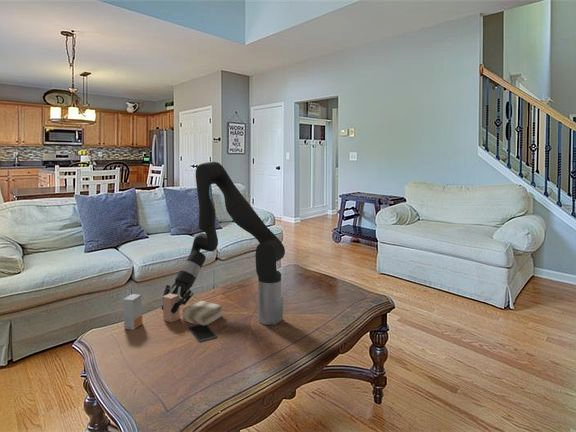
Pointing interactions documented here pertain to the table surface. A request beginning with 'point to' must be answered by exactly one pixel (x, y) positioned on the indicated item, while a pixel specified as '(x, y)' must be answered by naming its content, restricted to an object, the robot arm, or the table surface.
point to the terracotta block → (168, 305)
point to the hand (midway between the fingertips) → (168, 311)
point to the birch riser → (202, 313)
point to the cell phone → (202, 332)
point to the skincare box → (132, 311)
